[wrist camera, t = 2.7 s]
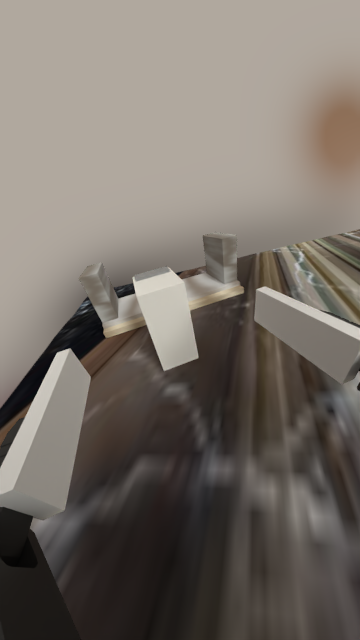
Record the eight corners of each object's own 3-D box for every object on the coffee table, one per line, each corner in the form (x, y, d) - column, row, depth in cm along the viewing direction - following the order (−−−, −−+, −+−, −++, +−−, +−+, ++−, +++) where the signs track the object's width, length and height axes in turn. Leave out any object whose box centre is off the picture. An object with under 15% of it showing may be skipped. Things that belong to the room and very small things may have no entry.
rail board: (213, 275, 47) (209, 232, 41) (243, 292, 36) (244, 236, 30) (110, 306, 43) (89, 263, 37) (106, 338, 32) (75, 282, 26)
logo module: (182, 330, 29) (167, 264, 23) (198, 357, 23) (183, 279, 17) (154, 339, 28) (131, 274, 22) (163, 371, 22) (135, 294, 16)
